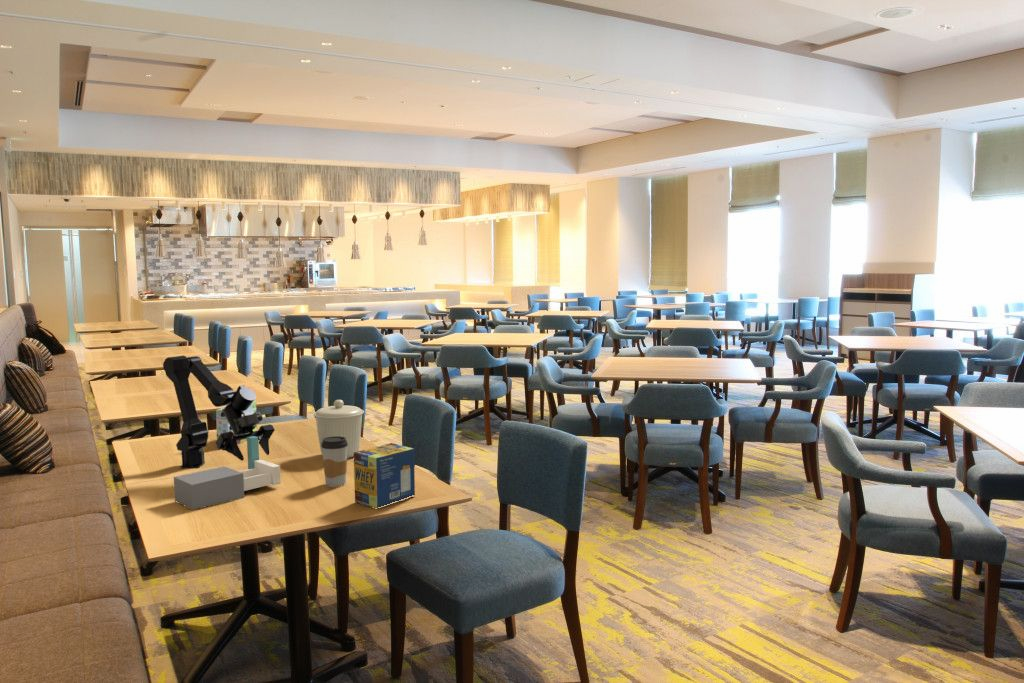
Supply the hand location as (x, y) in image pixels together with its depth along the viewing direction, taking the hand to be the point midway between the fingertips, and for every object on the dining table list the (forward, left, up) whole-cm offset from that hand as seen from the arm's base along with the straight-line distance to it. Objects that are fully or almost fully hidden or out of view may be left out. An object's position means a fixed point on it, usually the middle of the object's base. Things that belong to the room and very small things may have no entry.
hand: (255, 457), depth 253 cm
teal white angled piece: (-2, -9, -7) cm, 11 cm away
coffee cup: (+27, -5, -8) cm, 28 cm away
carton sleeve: (-9, -19, -8) cm, 22 cm away
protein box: (+45, -22, -8) cm, 51 cm away
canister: (+22, +31, -8) cm, 39 cm away
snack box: (-23, +56, -8) cm, 61 cm away
